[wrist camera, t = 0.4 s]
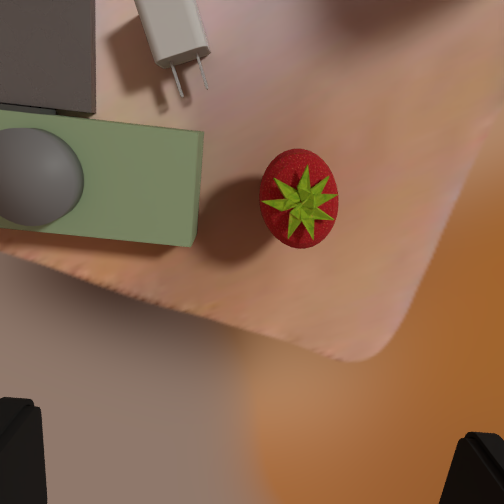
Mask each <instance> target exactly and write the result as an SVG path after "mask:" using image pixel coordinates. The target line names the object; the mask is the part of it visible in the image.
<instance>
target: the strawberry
mask: <svg viewBox="0 0 504 504" xmlns="http://www.w3.org/2000/svg"><path fill="white" fill-rule="evenodd" d="M259 199H260V208H261V213H262V216H263V219H264V221H265V224H266V225H267V227H268V229H269V230H270V232H271V233H272V234H273V235H274V236H275V237H276V238H277V239H278V240H280V241H281V242H282V243H284V244H286V245H288V246H290V247H293V248H298V249H301V248H309V247H313V246H314V245H316V244H318V243H320V242H321V241H322V240H323V239H324V238H325V237H326V236H327V235H328V234H329V232H330V231H331V229H332V227H333V225H334V223H335V220H336V217H337V212H338V192H337V186H336V183H335V180H334V177H333V174H332V172H331V171H330V169H329V167H328V166H327V164H326V163H325V162H324V161H323V160H322V159H321V158H320V157H319V156H318V155H316V154H315V153H313V152H311V151H308V150H304V149H291V150H287V151H285V152H283V153H281V154H279V155H278V156H277V157H276V158H275V159H273V160H272V161H271V163H270V164H269V166H268V167H267V169H266V171H265V173H264V175H263V177H262V182H261V186H260V194H259Z"/></svg>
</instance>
